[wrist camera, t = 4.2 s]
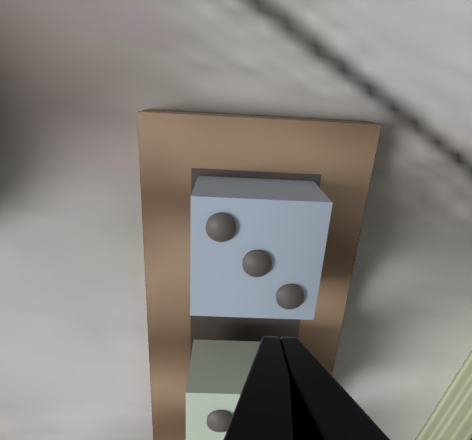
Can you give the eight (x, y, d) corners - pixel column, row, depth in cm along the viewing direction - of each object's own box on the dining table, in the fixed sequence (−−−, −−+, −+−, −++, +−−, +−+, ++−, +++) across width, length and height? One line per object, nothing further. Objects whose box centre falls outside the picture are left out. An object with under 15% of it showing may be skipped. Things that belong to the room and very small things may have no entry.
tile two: (288, 419, 18) (299, 483, 15) (192, 416, 18) (185, 481, 15) (299, 342, 16) (314, 399, 13) (193, 339, 16) (185, 395, 13)
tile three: (299, 280, 17) (314, 321, 14) (196, 277, 16) (189, 317, 14) (313, 181, 15) (333, 203, 12) (198, 175, 15) (190, 197, 12)
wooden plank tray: (301, 483, 24) (305, 507, 23) (160, 480, 24) (156, 505, 23) (367, 121, 15) (381, 124, 14) (145, 109, 15) (136, 111, 14)
